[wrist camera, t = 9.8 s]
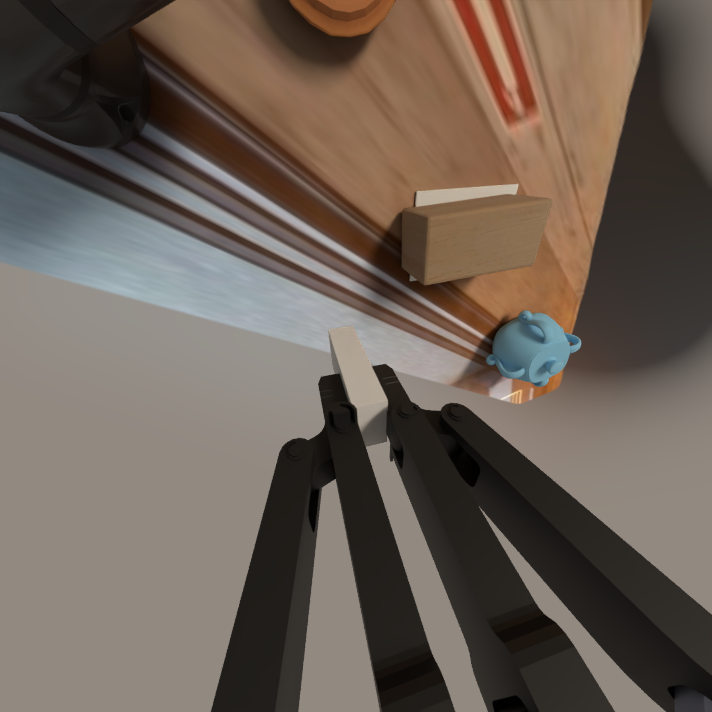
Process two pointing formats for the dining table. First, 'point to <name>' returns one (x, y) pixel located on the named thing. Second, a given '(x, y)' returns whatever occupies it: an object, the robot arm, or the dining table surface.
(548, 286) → the dining table surface
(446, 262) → the wooden block
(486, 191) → the mat
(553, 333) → the decorative pot
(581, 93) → the dining table surface
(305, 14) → the pie
